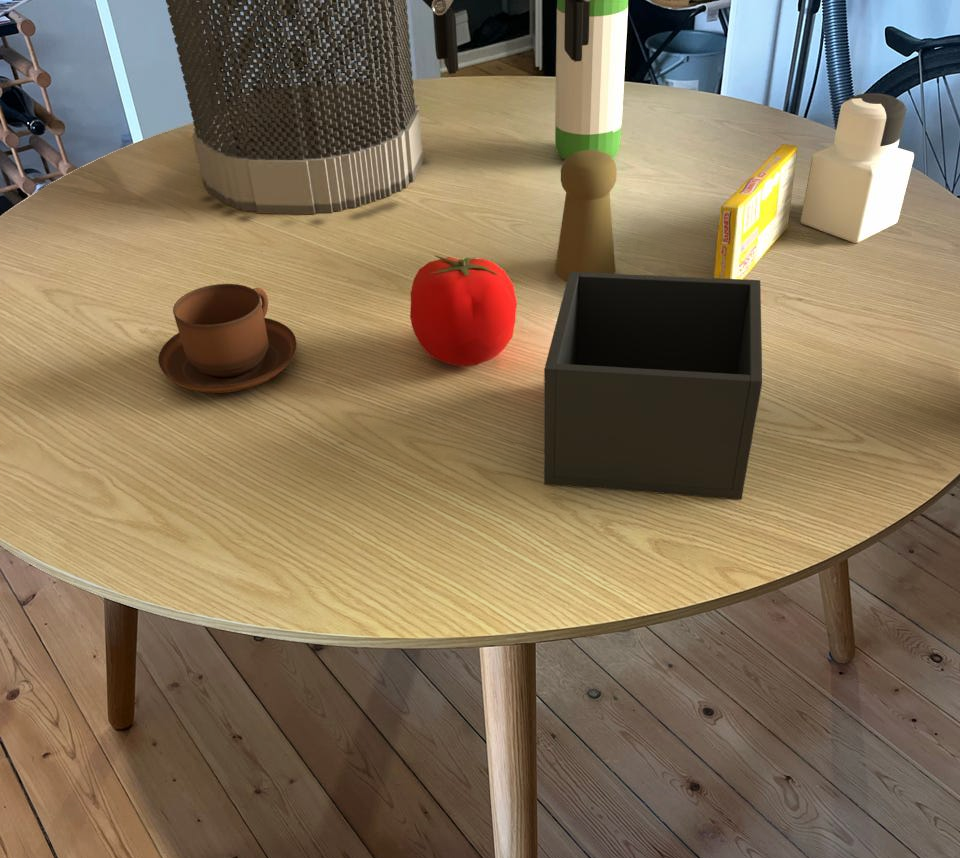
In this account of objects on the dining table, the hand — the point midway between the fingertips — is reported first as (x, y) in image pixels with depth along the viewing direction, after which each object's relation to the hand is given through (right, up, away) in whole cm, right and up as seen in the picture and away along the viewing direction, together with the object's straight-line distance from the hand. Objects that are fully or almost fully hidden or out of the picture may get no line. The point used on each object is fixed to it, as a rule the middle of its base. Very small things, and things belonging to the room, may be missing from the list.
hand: (512, 62), depth 79 cm
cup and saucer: (-24, -21, +11) cm, 34 cm away
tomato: (-4, -19, +12) cm, 23 cm away
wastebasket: (-22, +11, +43) cm, 50 cm away
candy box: (+24, -7, +22) cm, 34 cm away
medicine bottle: (+36, -2, +27) cm, 45 cm away
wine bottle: (+10, +13, +43) cm, 46 cm away
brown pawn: (+8, -8, +22) cm, 25 cm away
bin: (+11, -29, +1) cm, 31 cm away
